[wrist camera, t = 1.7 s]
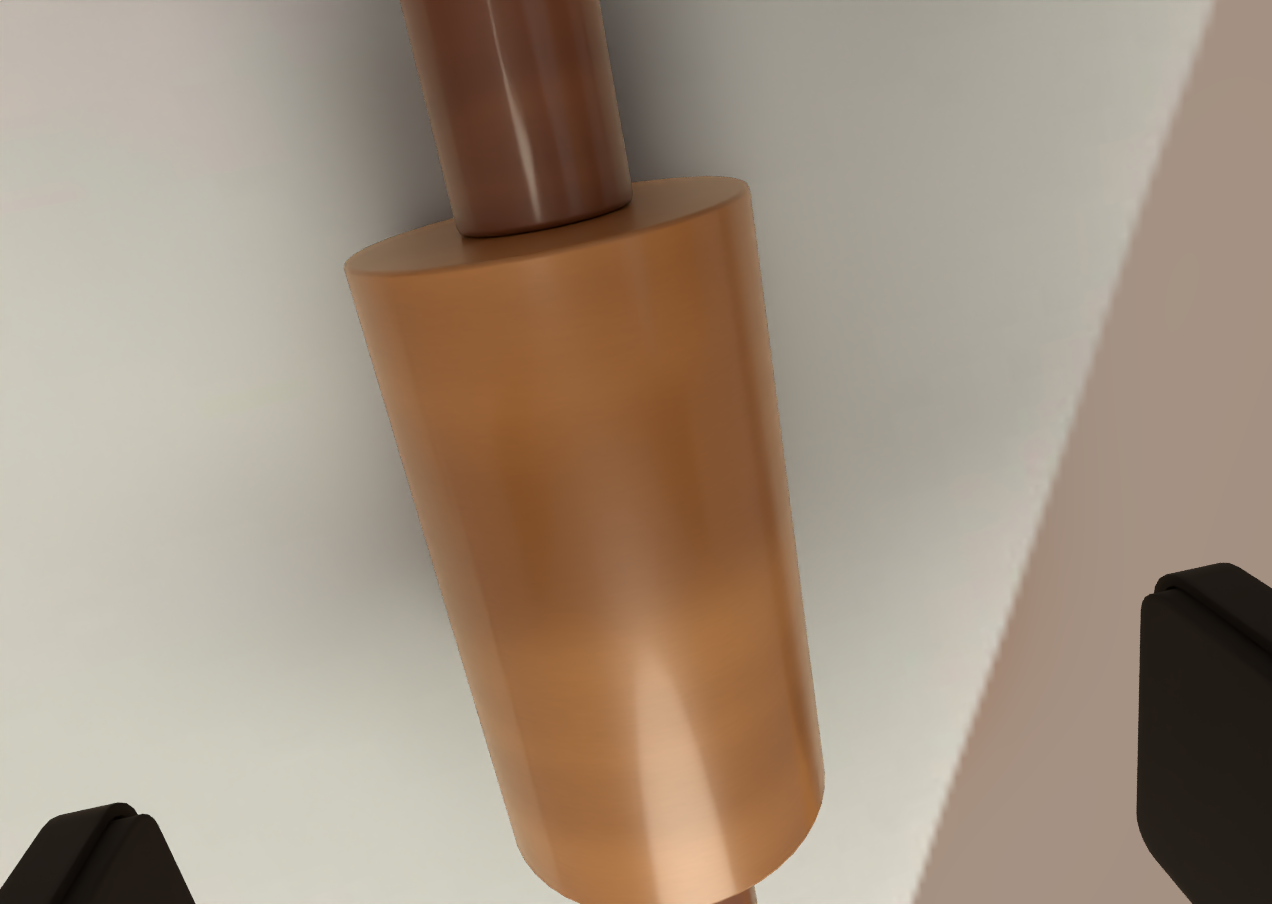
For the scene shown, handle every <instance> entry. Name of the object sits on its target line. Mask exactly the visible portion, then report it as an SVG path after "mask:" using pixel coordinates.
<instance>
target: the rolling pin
mask: <svg viewBox="0 0 1272 904" xmlns="http://www.w3.org/2000/svg"><path fill="white" fill-rule="evenodd" d="M400 4H401V8H402V12H403V16H404V20H405V24H406V28H407V32H408V36H409V40H410V44H411V48H412V52H413V56H414V60H415V64H416V68H417V72H418V76H419V80H420V84H421V88H422V92H423V96H424V100H425V104H426V108H427V112H428V116H429V120H430V124H431V128H432V132H433V136H434V140H435V144H436V148H437V152H438V156H439V160H440V164H441V168H442V172H443V176H444V180H445V184H446V188H447V192H448V196H449V200H450V204H451V208H452V212H453V216H454V218H452V219H448V220H444V221H441V222H437V223H434V224H430V225H427V226H424V227H420V228H417V229H414V230H411V231H408V232H405V233H402V234H399V235H396V236H393V237H390V238H388V239H385V240H383V241H380V242H378V243H375V244H373V245H371V246H369V247H366V248H364V249H362V250H361V251H359V252H357V253H356V254H354V255H353V256H351V257H350V258H349V259H348V260H347V261H346V262H345V265H344V270H345V273H346V277H347V280H348V283H349V287H350V290H351V293H352V297H353V300H354V303H355V307H356V310H357V313H358V317H359V320H360V323H361V327H362V330H363V333H364V337H365V340H366V343H367V347H368V350H369V353H370V357H371V360H372V363H373V367H374V370H375V373H376V377H377V380H378V383H379V387H380V390H381V393H382V397H383V400H384V403H385V407H386V410H387V413H388V417H389V420H390V423H391V427H392V430H393V433H394V437H395V440H396V443H397V447H398V450H399V453H400V457H401V460H402V463H403V467H404V470H405V473H406V476H407V480H408V483H409V486H410V490H411V493H412V496H413V500H414V503H415V506H416V510H417V513H418V516H419V520H420V523H421V526H422V530H423V533H424V536H425V540H426V543H427V546H428V550H429V553H430V556H431V560H432V563H433V566H434V570H435V573H436V576H437V580H438V583H439V586H440V590H441V593H442V596H443V600H444V603H445V606H446V610H447V613H448V616H449V620H450V623H451V626H452V630H453V633H454V636H455V640H456V643H457V646H458V650H459V653H460V656H461V660H462V663H463V666H464V670H465V673H466V676H467V680H468V683H469V686H470V690H471V693H472V696H473V700H474V703H475V706H476V709H477V713H478V716H479V719H480V723H481V726H482V729H483V733H484V736H485V739H486V743H487V746H488V749H489V753H490V756H491V759H492V763H493V766H494V769H495V773H496V776H497V779H498V783H499V786H500V789H501V793H502V796H503V799H504V803H505V806H506V809H507V813H508V816H509V819H510V823H511V826H512V829H513V833H514V836H515V839H516V843H517V846H518V848H519V850H520V852H521V854H522V856H523V858H524V860H525V861H526V863H527V864H528V865H529V867H530V868H531V869H532V870H533V872H534V873H535V874H536V875H537V876H538V877H539V878H540V879H541V880H542V881H544V882H545V883H546V884H547V885H548V886H549V887H550V888H552V889H554V890H555V891H557V892H558V893H560V894H561V895H563V896H564V897H566V898H568V899H571V900H573V901H575V902H577V903H580V904H757V898H756V893H755V887H754V885H755V884H757V883H759V882H760V881H762V880H763V879H764V878H766V877H767V876H768V875H770V874H771V873H772V872H774V871H775V870H777V869H778V868H779V867H780V866H781V865H782V864H783V863H784V862H785V861H786V860H787V859H788V858H789V857H790V856H791V855H792V854H793V853H794V852H795V851H796V850H797V848H798V847H799V846H800V844H801V843H802V842H803V841H804V839H805V838H806V836H807V835H808V833H809V831H810V829H811V828H812V826H813V824H814V822H815V820H816V817H817V815H818V812H819V809H820V807H821V804H822V799H823V793H824V788H825V772H824V764H823V756H822V748H821V740H820V733H819V725H818V717H817V709H816V701H815V694H814V686H813V678H812V670H811V662H810V654H809V647H808V639H807V631H806V623H805V615H804V608H803V600H802V592H801V584H800V576H799V568H798V561H797V553H796V545H795V537H794V529H793V522H792V514H791V506H790V498H789V490H788V482H787V475H786V467H785V459H784V451H783V443H782V435H781V428H780V420H779V412H778V404H777V396H776V389H775V381H774V373H773V365H772V357H771V349H770V342H769V334H768V326H767V318H766V310H765V303H764V295H763V287H762V279H761V271H760V263H759V256H758V248H757V240H756V232H755V224H754V217H753V209H752V201H751V193H750V188H749V186H748V184H747V183H746V182H745V181H743V180H740V179H735V178H731V177H721V176H696V177H679V178H667V179H657V180H648V181H640V182H632V183H631V179H630V173H629V167H628V162H627V156H626V150H625V145H624V139H623V133H622V127H621V122H620V116H619V110H618V105H617V99H616V93H615V88H614V82H613V76H612V70H611V65H610V59H609V53H608V48H607V42H606V36H605V30H604V25H603V19H602V13H601V8H600V2H599V0H400Z"/></svg>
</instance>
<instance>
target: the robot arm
mask: <svg viewBox="0 0 1272 904" xmlns="http://www.w3.org/2000/svg"><path fill="white" fill-rule="evenodd" d="M1137 822H1138V826H1139V829H1140V833H1141V835H1142V838H1143V840H1144V842H1145V844H1146V846H1147V848H1148V849H1149V851H1150V853H1151V854H1152V855H1153V857H1154V858H1155V859H1156V861H1157V862H1158V863H1159V864H1160V865H1161V867H1162V868H1163V869H1164V870H1165V871H1166V873H1167V874H1168V875H1169V876H1170V877H1171V878H1172V880H1173V881H1174V882H1175V883H1176V885H1177V886H1178V887H1179V888H1180V889H1181V891H1182V892H1183V893H1184V894H1185V895H1186V896H1187V898H1188V899H1189V900H1190V901H1191V902H1192V904H1272V588H1270V587H1269V586H1267V585H1266V584H1264V583H1263V582H1261V581H1260V580H1258V579H1257V578H1255V577H1253V576H1251V575H1250V574H1249V573H1247V572H1246V571H1244V570H1242V569H1241V568H1239V567H1237V566H1235V565H1233V564H1230V563H1217V564H1212V565H1208V566H1203V567H1199V568H1194V569H1190V570H1185V571H1180V572H1176V573H1171V574H1167V575H1165V576H1163V577H1161V578H1160V579H1159V580H1158V582H1157V584H1156V586H1155V590H1154V594H1150V595H1148V596H1146V597H1145V598H1144V600H1143V602H1142V607H1141V626H1140V674H1139V721H1138V767H1137ZM0 904H195V902H194V900H193V898H192V896H191V893H190V891H189V889H188V887H187V885H186V883H185V881H184V879H183V876H182V874H181V872H180V870H179V868H178V866H177V864H176V862H175V860H174V857H173V855H172V853H171V851H170V849H169V847H168V845H167V843H166V841H165V838H164V836H163V834H162V832H161V830H160V828H159V826H158V824H157V823H156V821H155V819H154V818H152V817H151V816H150V815H148V814H140V815H138V814H137V813H136V811H135V809H134V808H132V807H131V806H130V805H128V804H127V803H114V804H109V805H104V806H100V807H95V808H91V809H86V810H81V811H77V812H72V813H68V814H63V815H59V816H57V817H55V818H53V819H50V820H49V821H48V823H47V824H46V825H45V826H44V827H43V828H42V829H41V831H40V832H39V834H38V835H37V836H36V838H35V839H34V841H33V842H32V844H31V845H30V847H29V848H28V850H27V851H26V853H25V854H24V855H23V857H22V858H21V860H20V861H19V863H18V864H17V866H16V867H15V869H14V870H13V871H12V873H11V874H10V876H9V877H8V879H7V880H6V882H5V883H4V885H3V886H2V887H1V889H0Z"/></svg>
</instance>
